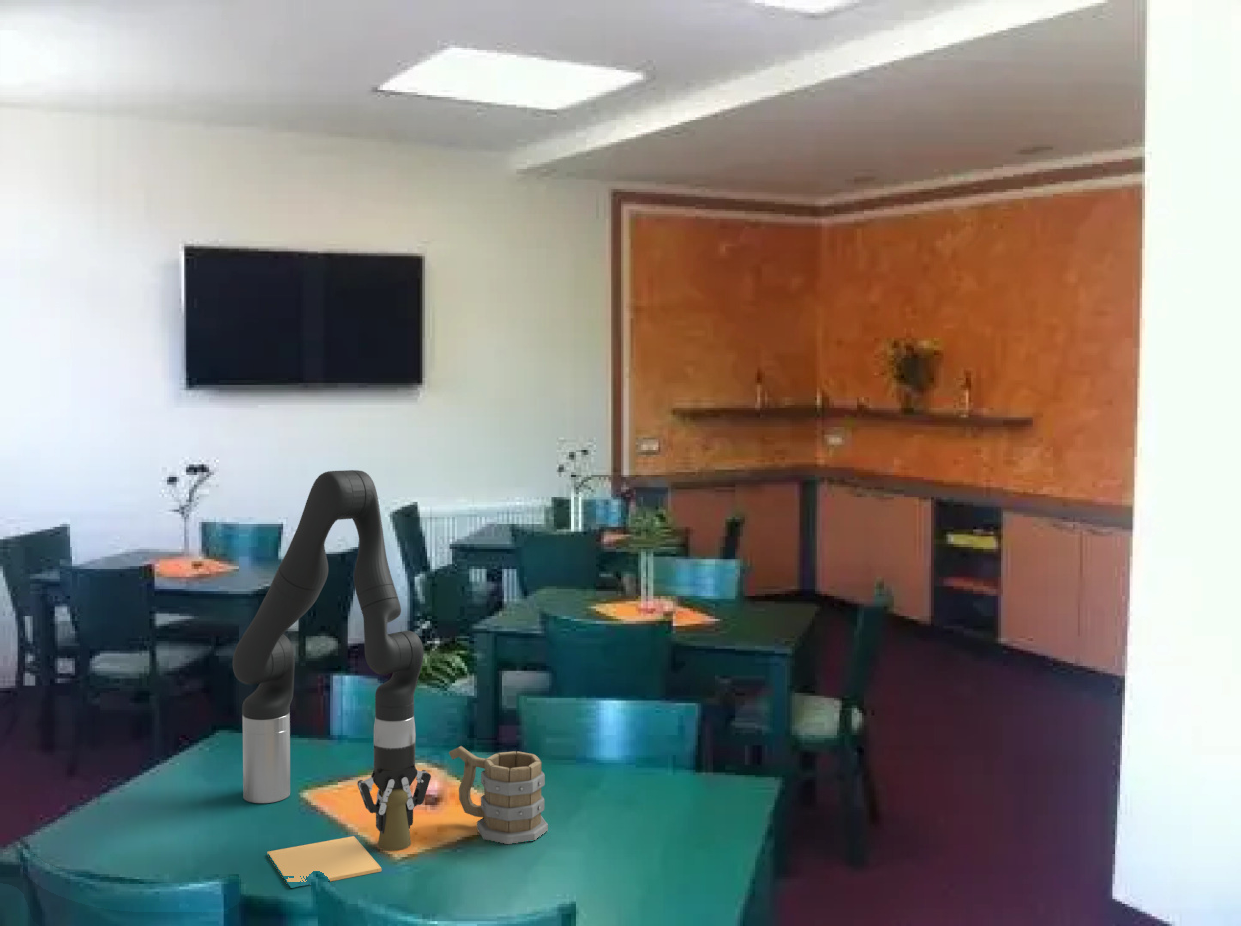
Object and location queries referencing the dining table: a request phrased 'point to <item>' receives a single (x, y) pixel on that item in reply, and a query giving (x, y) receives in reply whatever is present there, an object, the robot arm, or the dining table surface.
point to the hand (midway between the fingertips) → (394, 829)
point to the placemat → (325, 860)
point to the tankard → (505, 795)
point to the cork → (395, 822)
